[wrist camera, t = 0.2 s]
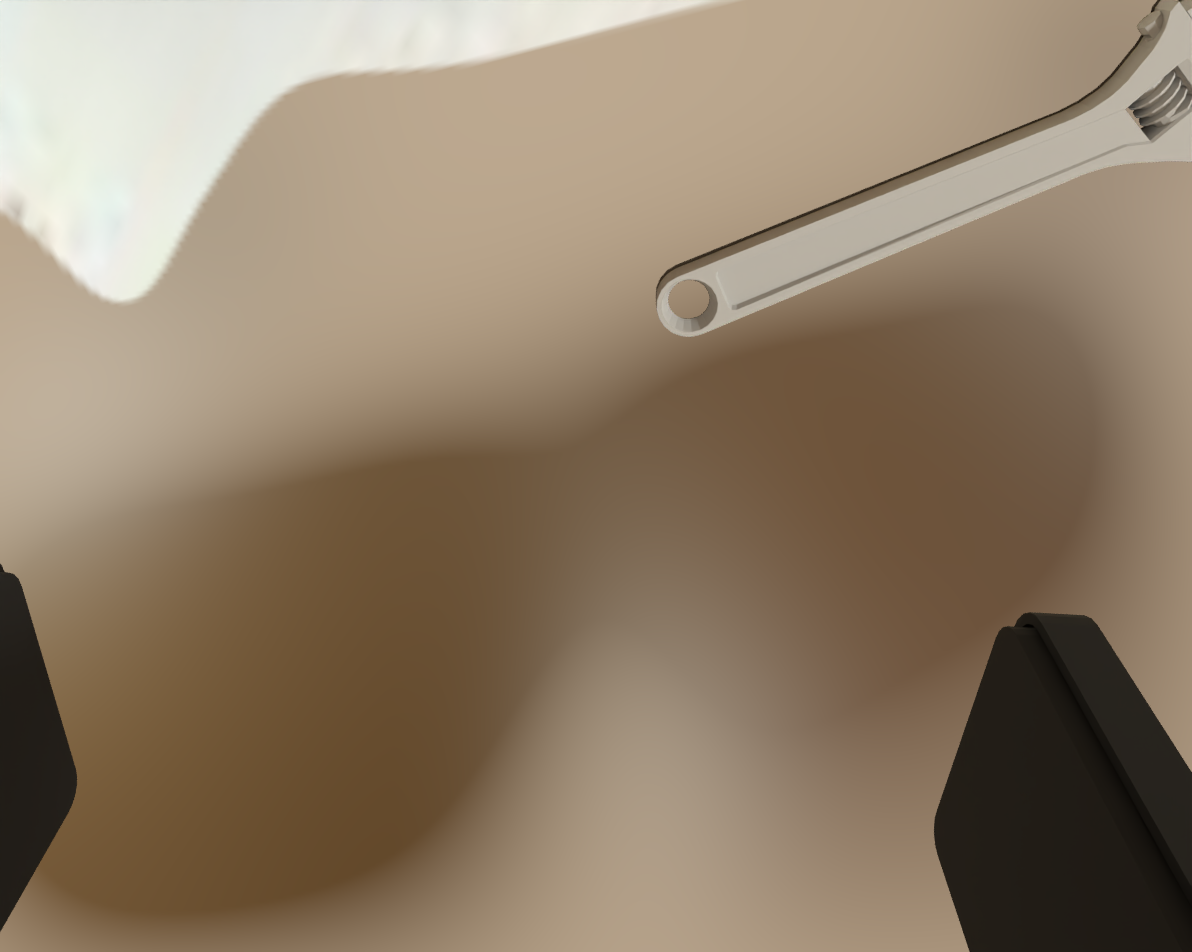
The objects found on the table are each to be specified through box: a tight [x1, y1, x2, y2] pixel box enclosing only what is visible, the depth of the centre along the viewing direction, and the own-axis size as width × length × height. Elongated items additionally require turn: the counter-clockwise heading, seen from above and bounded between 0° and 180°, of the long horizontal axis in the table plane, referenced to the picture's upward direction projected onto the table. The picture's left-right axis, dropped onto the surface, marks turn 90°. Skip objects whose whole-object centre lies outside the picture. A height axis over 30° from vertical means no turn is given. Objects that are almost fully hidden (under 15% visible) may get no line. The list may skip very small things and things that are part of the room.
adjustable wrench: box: [656, 0, 1192, 337], centre depth 37 cm, size 25×6×2 cm, turn 110°
